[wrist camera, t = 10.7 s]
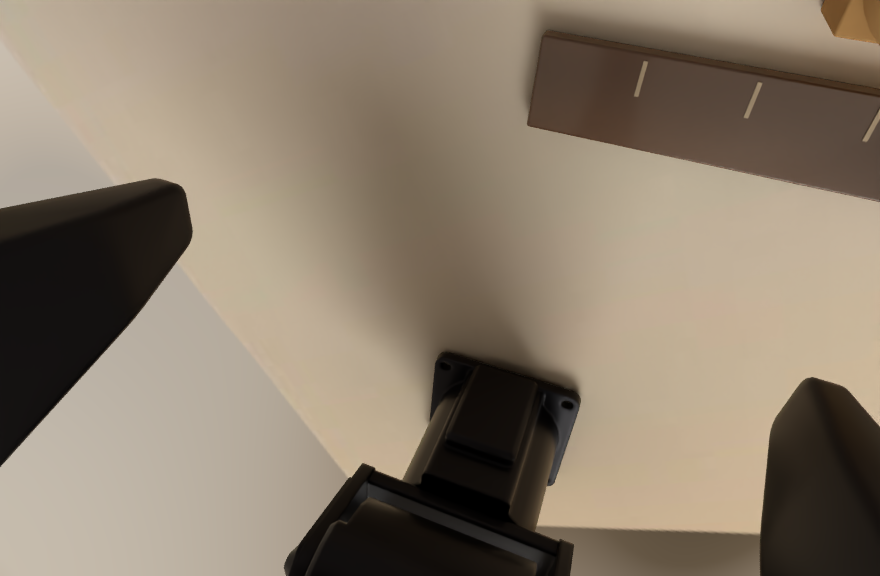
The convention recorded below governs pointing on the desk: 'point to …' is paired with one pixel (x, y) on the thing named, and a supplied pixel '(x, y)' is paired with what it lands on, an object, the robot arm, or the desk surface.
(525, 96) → the desk surface
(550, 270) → the desk surface
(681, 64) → the walnut ruler
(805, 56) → the desk surface
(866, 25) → the tan arched block
